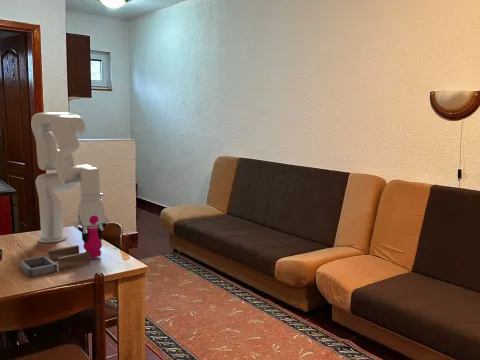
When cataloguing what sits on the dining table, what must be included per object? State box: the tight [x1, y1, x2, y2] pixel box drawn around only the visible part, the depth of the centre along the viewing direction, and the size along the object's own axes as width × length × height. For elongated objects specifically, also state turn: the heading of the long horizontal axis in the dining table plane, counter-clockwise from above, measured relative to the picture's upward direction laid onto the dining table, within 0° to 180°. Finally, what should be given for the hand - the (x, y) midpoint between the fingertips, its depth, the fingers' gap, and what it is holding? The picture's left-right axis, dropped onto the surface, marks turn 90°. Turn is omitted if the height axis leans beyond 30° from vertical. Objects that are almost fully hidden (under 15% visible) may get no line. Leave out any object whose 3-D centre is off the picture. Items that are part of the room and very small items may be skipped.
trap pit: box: [18, 255, 58, 279], centre depth 177 cm, size 14×10×3 cm
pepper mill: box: [83, 216, 103, 259], centre depth 190 cm, size 7×7×20 cm
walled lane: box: [47, 244, 91, 272], centre depth 185 cm, size 13×12×5 cm
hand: (92, 240), depth 190 cm, fingers closed on pepper mill, 5 cm apart
